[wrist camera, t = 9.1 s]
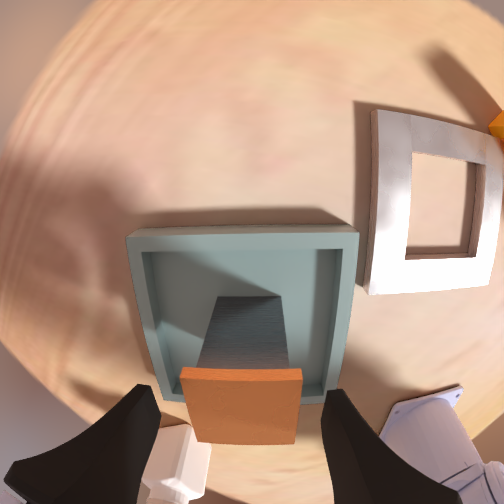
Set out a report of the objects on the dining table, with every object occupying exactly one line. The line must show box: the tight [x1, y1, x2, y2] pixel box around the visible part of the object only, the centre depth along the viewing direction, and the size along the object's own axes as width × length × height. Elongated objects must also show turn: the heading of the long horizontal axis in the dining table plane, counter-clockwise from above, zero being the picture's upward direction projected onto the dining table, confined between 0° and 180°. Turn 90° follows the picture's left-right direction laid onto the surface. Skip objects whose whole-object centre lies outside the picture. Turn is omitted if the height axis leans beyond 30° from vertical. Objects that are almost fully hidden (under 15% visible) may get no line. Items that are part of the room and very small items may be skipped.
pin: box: [179, 296, 303, 445], centre depth 13 cm, size 4×4×7 cm
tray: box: [125, 224, 360, 405], centre depth 16 cm, size 12×12×2 cm
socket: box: [363, 109, 504, 295], centre depth 14 cm, size 10×10×1 cm
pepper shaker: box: [142, 424, 211, 504], centre depth 17 cm, size 4×4×10 cm
